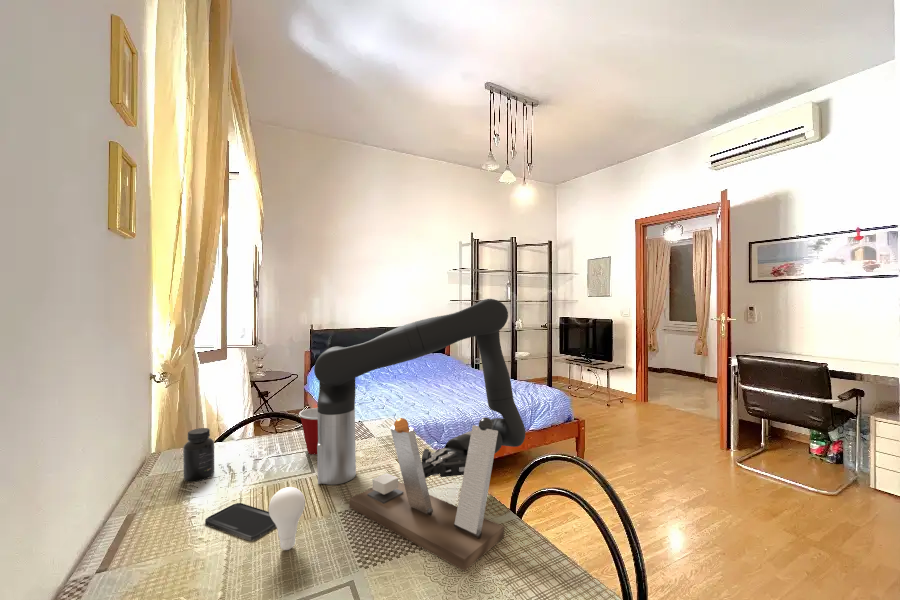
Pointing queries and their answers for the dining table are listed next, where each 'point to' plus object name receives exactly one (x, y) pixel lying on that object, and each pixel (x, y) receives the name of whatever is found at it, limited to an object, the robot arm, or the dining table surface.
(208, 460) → the supplement bottle
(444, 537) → the walnut panel
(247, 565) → the dining table surface
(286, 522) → the lightbulb
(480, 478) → the grey upright post
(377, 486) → the white button
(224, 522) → the phone
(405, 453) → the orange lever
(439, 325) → the robot arm
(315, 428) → the plastic cup
